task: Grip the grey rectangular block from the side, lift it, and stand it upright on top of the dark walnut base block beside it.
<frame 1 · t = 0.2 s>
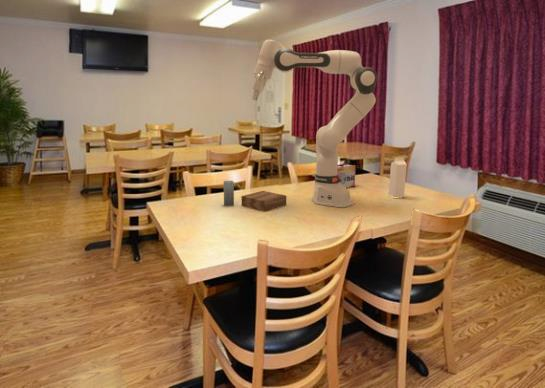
hand: (254, 100, 195), 52 cm above the table, tool tilted 20°, fingers open, 8 cm apart
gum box: (337, 188, 238), on the table
grey rectangular block: (229, 204, 197), on the table
milk: (396, 197, 216), on the table
walnut base: (264, 205, 197), on the table
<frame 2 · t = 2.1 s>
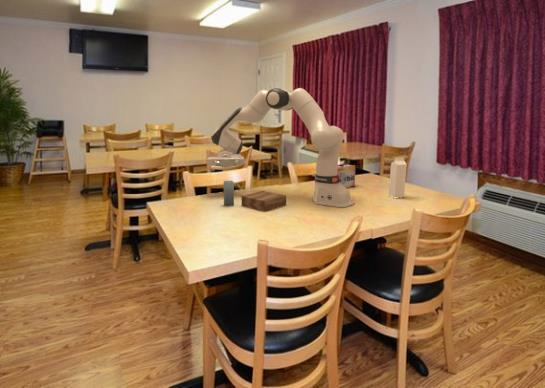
hand: (226, 163, 204), 19 cm above the table, tool horizontal, fingers open, 8 cm apart
nothing on the table moved.
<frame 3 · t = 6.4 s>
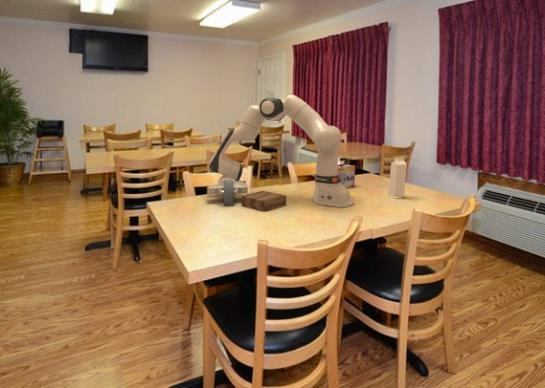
hand: (228, 192, 195), 7 cm above the table, tool horizontal, fingers closed on grey rectangular block, 5 cm apart
grey rectangular block: (228, 204, 197), on the table, touching gripper
everything else where it was.
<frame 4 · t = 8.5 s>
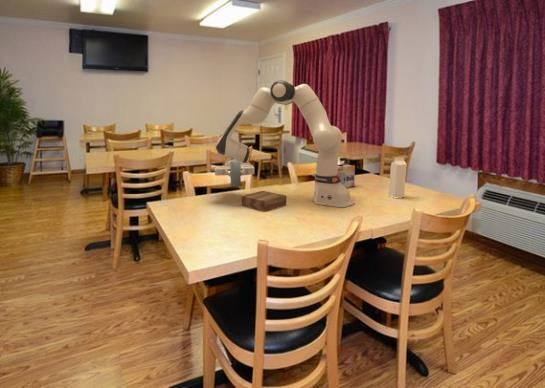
hand: (235, 173, 192), 16 cm above the table, tool horizontal, fingers closed on grey rectangular block, 5 cm apart
grey rectangular block: (235, 185, 195), point 10 cm above the table, touching gripper
everything else where it was.
when the fingers open (12 cm above the table, at t = 10.8 s): grey rectangular block stays where it is, resting on walnut base.
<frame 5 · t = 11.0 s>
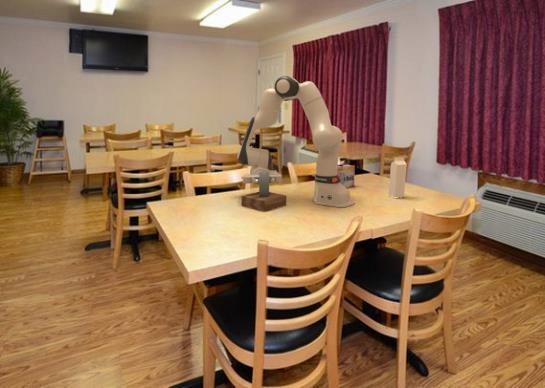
hand: (264, 181, 193), 12 cm above the table, tool horizontal, fingers open, 7 cm apart
grey rectangular block: (263, 195, 196), point 5 cm above the table, touching walnut base
everything else where it was.
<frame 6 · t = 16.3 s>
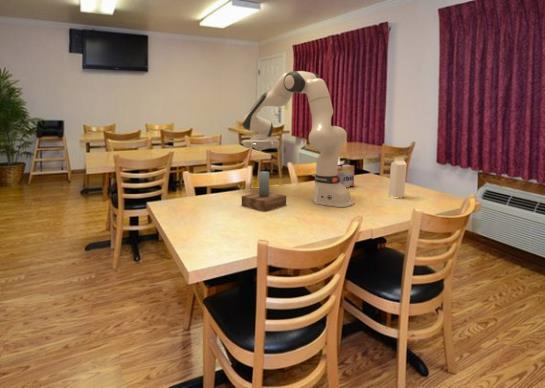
hand: (263, 145, 212), 28 cm above the table, tool horizontal, fingers open, 8 cm apart
nothing on the table moved.
at the end: grey rectangular block inside the target area on the walnut base (0.1 cm from its centre), point 5.0 cm above the walnut base's base; grey rectangular block tilted 1°; the gripper is holding nothing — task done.
